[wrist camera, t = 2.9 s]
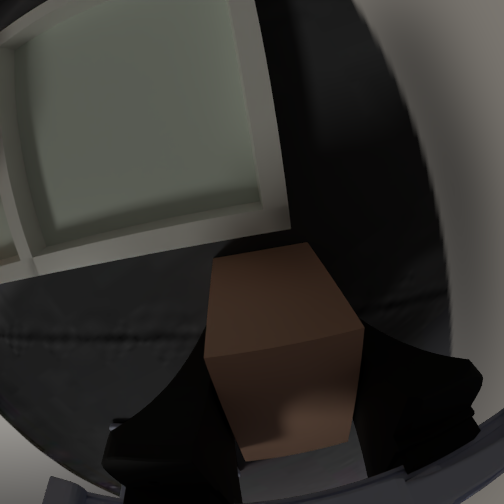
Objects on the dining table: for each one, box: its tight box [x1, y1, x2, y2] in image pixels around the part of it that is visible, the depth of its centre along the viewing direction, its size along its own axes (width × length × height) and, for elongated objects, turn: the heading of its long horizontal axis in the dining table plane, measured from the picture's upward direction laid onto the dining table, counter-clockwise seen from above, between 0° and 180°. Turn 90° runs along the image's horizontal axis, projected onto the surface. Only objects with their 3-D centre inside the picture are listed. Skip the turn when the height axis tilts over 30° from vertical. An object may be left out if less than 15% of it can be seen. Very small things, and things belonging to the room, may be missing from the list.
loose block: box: [204, 242, 365, 461], centre depth 11 cm, size 6×4×6 cm, turn 9°
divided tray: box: [0, 0, 291, 284], centre depth 8 cm, size 11×21×2 cm, turn 99°
